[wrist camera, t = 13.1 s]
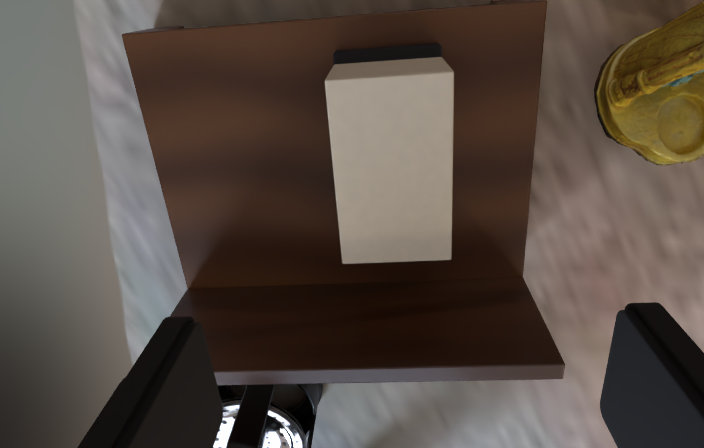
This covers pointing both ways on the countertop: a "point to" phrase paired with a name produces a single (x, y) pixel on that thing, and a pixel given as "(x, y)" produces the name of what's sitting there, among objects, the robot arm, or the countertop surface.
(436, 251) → the beige cuboid
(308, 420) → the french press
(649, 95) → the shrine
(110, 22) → the countertop surface
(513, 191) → the shoe shelf
